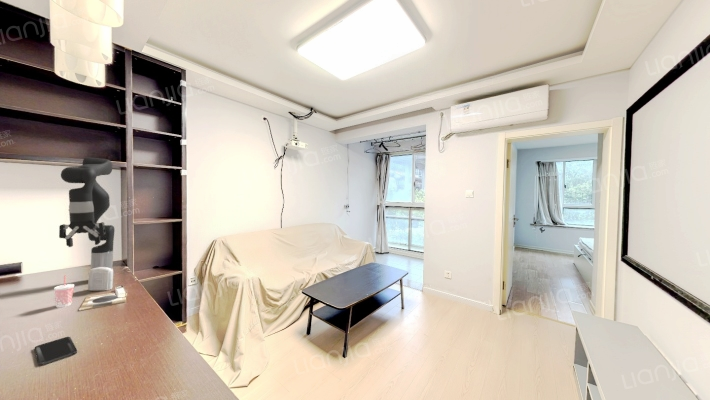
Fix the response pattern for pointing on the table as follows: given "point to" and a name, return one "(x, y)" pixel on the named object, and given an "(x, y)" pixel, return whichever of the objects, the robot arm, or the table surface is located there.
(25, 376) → the table surface
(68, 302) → the beverage cup
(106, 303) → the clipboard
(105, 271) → the photo printer
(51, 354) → the phone
